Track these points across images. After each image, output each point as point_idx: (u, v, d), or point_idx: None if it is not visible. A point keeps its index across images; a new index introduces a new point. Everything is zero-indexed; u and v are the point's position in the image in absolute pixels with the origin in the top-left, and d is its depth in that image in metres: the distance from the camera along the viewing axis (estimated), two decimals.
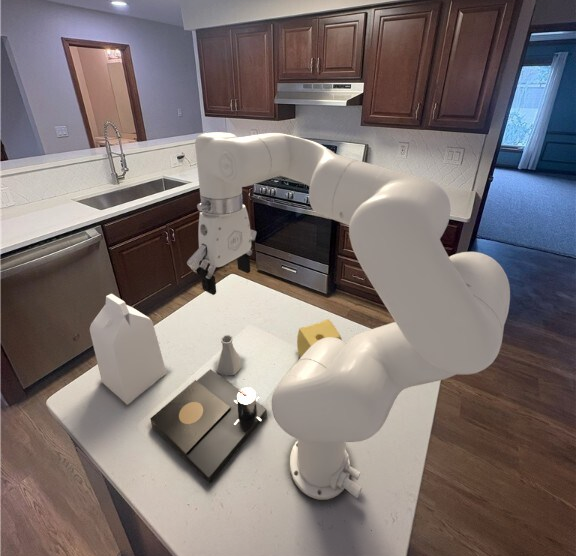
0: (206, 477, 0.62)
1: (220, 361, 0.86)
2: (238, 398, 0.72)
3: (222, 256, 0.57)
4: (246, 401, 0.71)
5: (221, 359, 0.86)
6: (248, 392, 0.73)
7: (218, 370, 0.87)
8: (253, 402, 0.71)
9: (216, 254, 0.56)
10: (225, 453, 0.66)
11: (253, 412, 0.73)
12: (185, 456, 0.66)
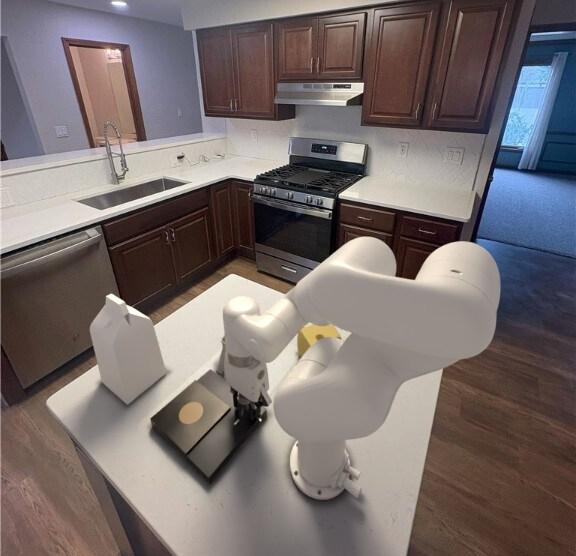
0: (206, 477, 0.62)
1: (220, 361, 0.86)
2: (238, 398, 0.72)
3: None
4: (246, 401, 0.71)
5: (221, 359, 0.86)
6: None
7: (218, 370, 0.87)
8: None
9: None
10: (225, 453, 0.66)
11: None
12: (185, 456, 0.66)
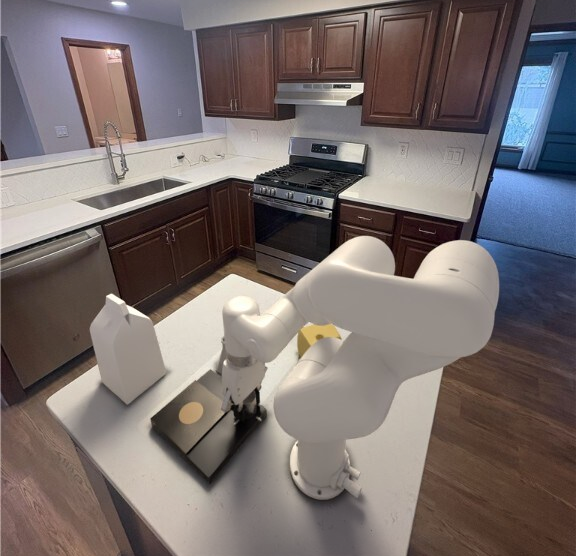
0: (206, 477, 0.62)
1: (220, 361, 0.86)
2: (248, 402, 0.71)
3: None
4: (252, 395, 0.73)
5: (221, 359, 0.86)
6: None
7: (218, 370, 0.87)
8: None
9: None
10: (225, 453, 0.66)
11: None
12: (185, 456, 0.66)
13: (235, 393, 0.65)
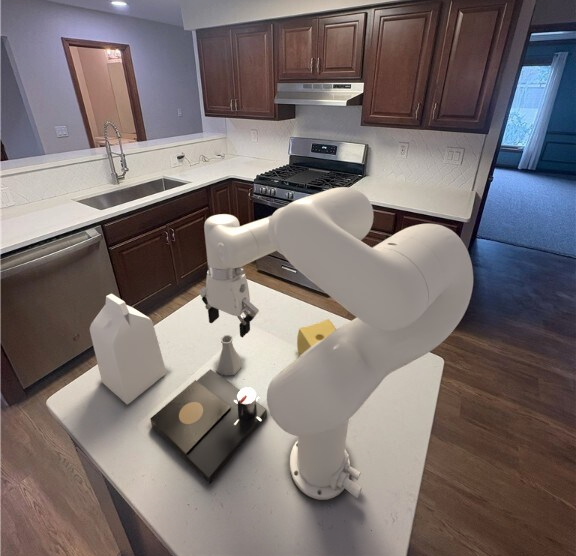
0: (206, 477, 0.62)
1: (220, 361, 0.86)
2: (248, 402, 0.71)
3: None
4: (252, 395, 0.73)
5: (221, 359, 0.86)
6: (243, 394, 0.73)
7: (218, 370, 0.87)
8: None
9: None
10: (225, 453, 0.66)
11: None
12: (185, 456, 0.66)
13: None
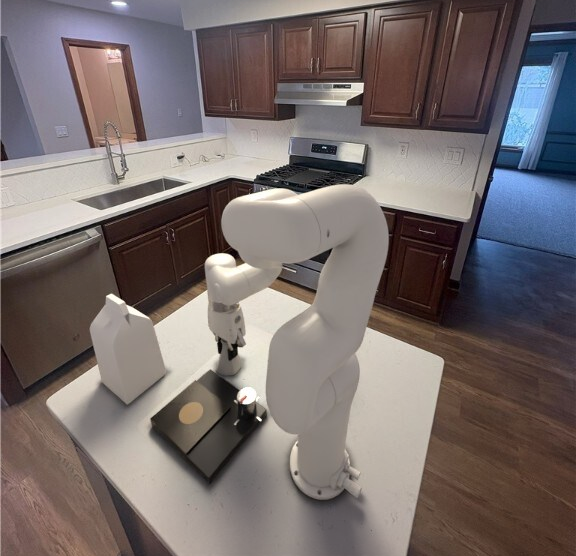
0: (206, 477, 0.62)
1: (220, 361, 0.86)
2: (248, 402, 0.71)
3: None
4: (252, 395, 0.73)
5: (221, 359, 0.86)
6: (243, 394, 0.73)
7: (218, 370, 0.87)
8: None
9: (244, 326, 0.83)
10: (225, 453, 0.66)
11: None
12: (185, 456, 0.66)
13: None
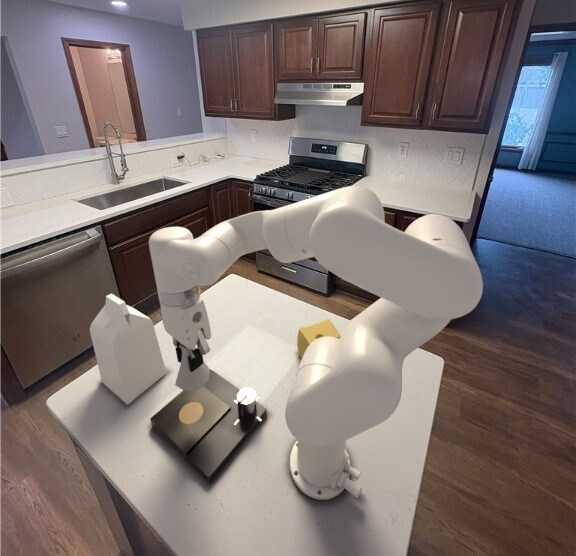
0: (206, 477, 0.62)
1: (180, 372, 0.66)
2: (248, 402, 0.71)
3: None
4: (252, 395, 0.73)
5: (181, 369, 0.65)
6: (243, 394, 0.73)
7: (177, 384, 0.66)
8: None
9: (209, 326, 0.62)
10: (225, 453, 0.66)
11: None
12: (185, 456, 0.66)
13: None
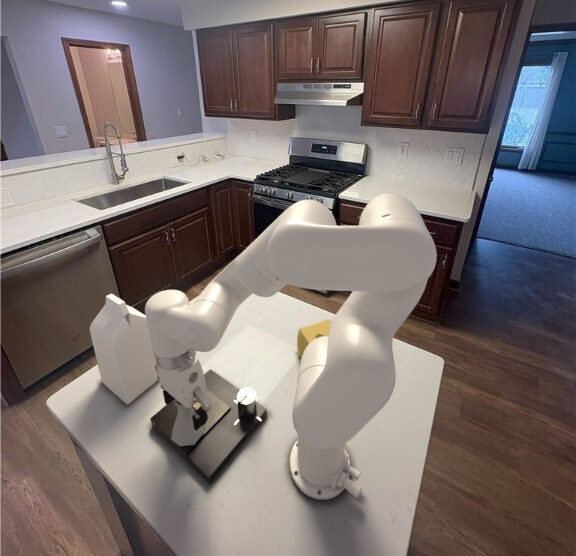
0: (206, 477, 0.62)
1: (175, 427, 0.67)
2: (248, 402, 0.71)
3: None
4: (252, 395, 0.73)
5: (176, 425, 0.66)
6: (243, 394, 0.73)
7: (173, 438, 0.67)
8: None
9: (205, 383, 0.63)
10: (225, 453, 0.66)
11: None
12: (185, 456, 0.66)
13: None
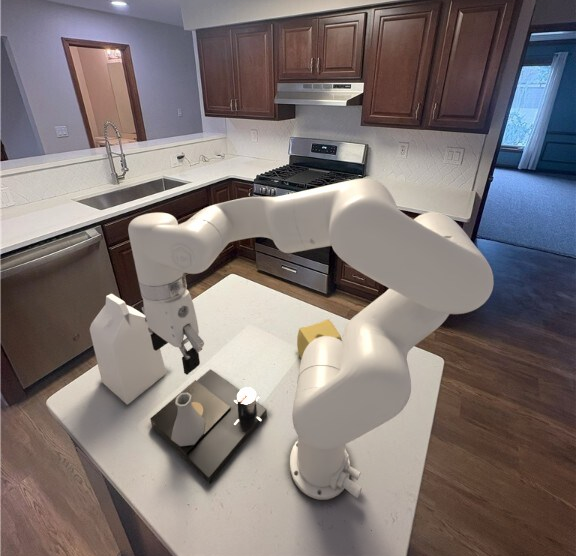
0: (206, 477, 0.62)
1: (175, 427, 0.67)
2: (248, 402, 0.71)
3: None
4: (252, 395, 0.73)
5: (177, 425, 0.66)
6: (243, 394, 0.73)
7: (173, 438, 0.67)
8: None
9: None
10: (225, 453, 0.66)
11: None
12: (185, 456, 0.66)
13: None
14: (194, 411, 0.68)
